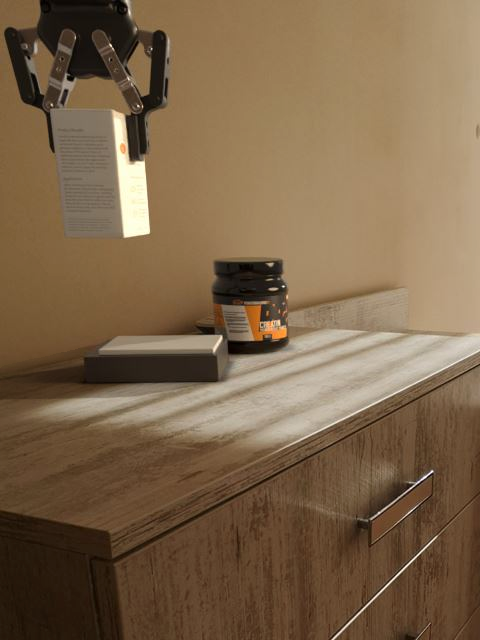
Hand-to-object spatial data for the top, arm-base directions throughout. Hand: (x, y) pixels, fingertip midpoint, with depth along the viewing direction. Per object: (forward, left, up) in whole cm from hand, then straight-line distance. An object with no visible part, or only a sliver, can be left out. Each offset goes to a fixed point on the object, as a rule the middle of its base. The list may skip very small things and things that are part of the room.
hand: (101, 160), depth 74 cm
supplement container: (+10, +35, -23) cm, 43 cm away
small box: (0, 0, -7) cm, 7 cm away
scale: (0, +19, -23) cm, 30 cm away
